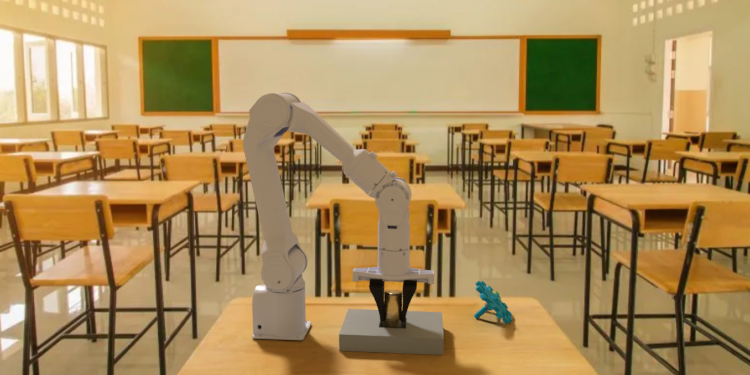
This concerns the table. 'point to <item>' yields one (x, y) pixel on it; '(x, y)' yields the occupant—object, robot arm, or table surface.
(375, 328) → the hole plate
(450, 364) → the table surface
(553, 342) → the table surface
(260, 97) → the robot arm
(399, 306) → the brass pin
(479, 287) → the teal knobby piece
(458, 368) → the table surface
